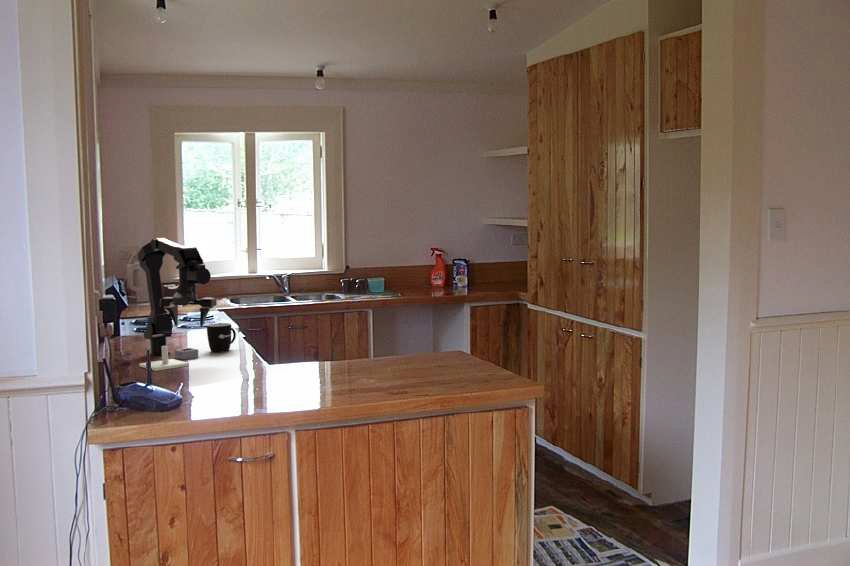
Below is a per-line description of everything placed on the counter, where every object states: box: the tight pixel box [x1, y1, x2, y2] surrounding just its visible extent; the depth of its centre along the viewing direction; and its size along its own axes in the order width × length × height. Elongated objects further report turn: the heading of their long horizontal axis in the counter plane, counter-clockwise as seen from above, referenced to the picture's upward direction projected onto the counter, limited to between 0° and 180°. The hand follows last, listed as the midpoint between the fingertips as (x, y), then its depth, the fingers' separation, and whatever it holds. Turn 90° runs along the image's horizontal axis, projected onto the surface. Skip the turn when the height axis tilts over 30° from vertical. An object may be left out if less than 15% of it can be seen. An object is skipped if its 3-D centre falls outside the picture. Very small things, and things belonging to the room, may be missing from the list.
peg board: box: [139, 345, 190, 372], centre depth 279 cm, size 12×12×7 cm
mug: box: [206, 322, 237, 354], centre depth 309 cm, size 12×9×10 cm
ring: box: [174, 347, 199, 361], centre depth 295 cm, size 6×6×3 cm
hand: (188, 326), depth 289 cm, fingers open, 9 cm apart
